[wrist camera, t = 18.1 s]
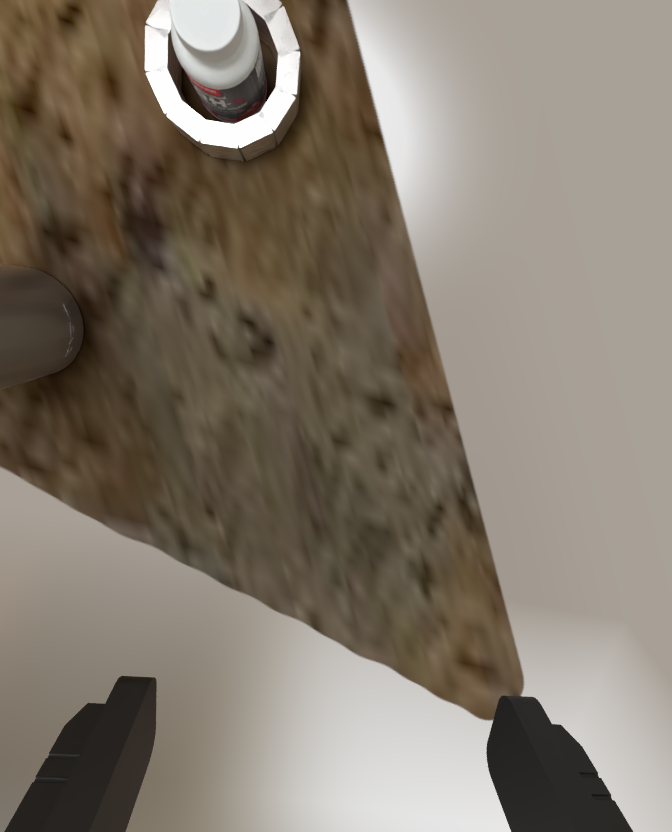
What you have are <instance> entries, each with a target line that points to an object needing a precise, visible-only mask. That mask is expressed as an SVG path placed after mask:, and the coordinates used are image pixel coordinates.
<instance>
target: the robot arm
mask: <svg viewBox="0 0 672 832" xmlns="http://www.w3.org/2000/svg"><path fill="white" fill-rule="evenodd" d="M83 332H84V327H83V320H82V316H81V313H80V310H79V307H78V305H77V303H76V302H75V300H74V298H73V296H72V295H71V294H70V293H69V291H68V290H67V289H66V288H65V287H64V286H63V285H62V284H61V283H60V282H58V281H57V280H56V279H55V278H53V277H52V276H50V275H48V274H46V273H44V272H42V271H40V270H37V269H33V268H30V267H22V266H13V265H3V264H0V390H2V389H6V388H9V387H12V386H15V385H18V384H21V383H25V382H28V381H31V380H34V379H37V378H41V377H44V376H47V375H50V374H53V373H56V372H58V371H60V370H62V369H63V368H65V367H67V366H68V365H69V364H70V363H71V362H72V361H73V360H74V359H75V357H76V355H77V354H78V352H79V351H80V348H81V344H82V341H83ZM155 730H156V678H151V677H131V676H121V677H119V679H118V680H117V682H116V683H115V685H114V687H113V690H112V691H111V693H110V695H109V698H108V699H107V701H106V704H96V703H88V704H87V705H85V706H84V707H83V708H82V709H81V710H80V711H79V712H78V713H77V714H76V715H75V716H74V717H73V718H72V719H71V720H70V721H69V722H68V723H67V724H66V725H65V726H64V728H63V729H62V731H61V733H60V735H59V736H58V738H57V740H56V742H55V744H54V745H53V747H52V749H51V751H50V752H49V756H48V758H46V759H45V761H44V763H43V765H42V767H41V768H40V770H39V772H38V774H37V775H36V779H35V781H34V782H33V783H32V784H31V786H30V788H29V789H28V791H27V793H26V795H25V796H24V798H23V800H22V802H21V803H20V805H19V807H18V809H17V811H16V812H15V814H14V816H13V818H12V819H11V821H10V823H9V825H8V827H7V828H6V830H5V832H125V831H126V829H127V826H128V823H129V820H130V817H131V814H132V811H133V808H134V805H135V802H136V799H137V796H138V794H139V790H140V788H141V785H142V782H143V779H144V776H145V773H146V770H147V767H148V764H149V761H150V757H151V753H152V749H153V745H154V739H155ZM487 762H488V768H489V772H490V775H491V778H492V781H493V783H494V786H495V789H496V792H497V795H498V797H499V800H500V803H501V805H502V808H503V811H504V813H505V816H506V819H507V821H508V824H509V827H510V829H511V832H633V831H632V829H631V827H630V826H629V824H628V823H627V821H626V819H625V817H624V816H623V814H622V812H621V811H620V809H619V807H618V806H617V804H616V802H615V801H613V800H612V799H611V794H610V792H609V791H608V789H607V787H606V786H605V784H604V782H603V781H602V779H601V778H599V777H598V772H597V771H596V769H595V767H594V766H593V764H592V762H591V761H590V759H589V757H588V756H587V754H586V752H585V751H584V749H583V747H582V746H581V745H580V744H579V743H578V742H577V741H576V740H575V739H574V738H573V737H572V736H571V735H570V734H569V733H568V732H567V731H566V730H565V729H564V728H563V727H562V726H561V725H555V724H551V722H550V720H549V718H548V717H547V715H546V713H545V711H544V709H543V708H542V706H541V704H540V703H539V702H538V700H537V699H536V698H534V697H522V696H501V697H500V699H499V701H498V705H497V709H496V712H495V716H494V720H493V724H492V728H491V731H490V735H489V738H488V742H487Z"/></svg>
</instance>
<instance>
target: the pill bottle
mask: <svg viewBox="0 0 672 832" xmlns="http://www.w3.org/2000/svg"><path fill="white" fill-rule="evenodd" d="M169 10H170V16H171V20H172V23H171V37H172V43H173V47H174V50H175V53H176V56H177V58H178V60H179V62H180V64H181V66H182V68H183V69H184V71H185V73H186V75H187V76H188V78H189V80H190V82H191V83H192V85H193V87H194V89H195V91H196V92H197V94H198V96H199V98H200V100H201V101H202V103H203V105H204V106H205V107H206V109H207V110H208V111H209V112H210V113H211V114H212V115H213V116H214V117H216V118H217V119H219V120H221V121H223V122H226V123H230V124H236V123H238V122H240V121H242V120H244V119H246V118H249V117H251V116H253V115H255V114H257V113H259V111H260V110H261V109H262V107H263V105H264V102H265V99H266V95H267V78H266V72H265V66H264V61H263V56H262V51H261V46H260V41H259V34H258V29H257V26H256V23H255V20H254V17H253V15H252V13H251V11H250V9H249V8H248V6H247V5H246V3H245V2H244V1H243V0H169Z"/></svg>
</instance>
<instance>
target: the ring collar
mask: <svg viewBox="0 0 672 832" xmlns="http://www.w3.org/2000/svg"><path fill="white" fill-rule="evenodd" d="M243 1H244V2H245V3H246V5H247V6H248V8H249V9H250V11H251V13H252V15H253V17H254V20H255V23H256V26H257V29H258V34H259V39H260V40H262V41H263V42H264V43H265V44H266V45H267V46H268V47H270V49H271V52H272V54H273V57H274V59H275V62H276V64H277V77H276V87H275V89H274V90H273V92H272V93H271V95H270V97H269V98H268V100H267V101H266V103H265V105H264V106H263V108H262V109H261V111H260V112H259V113H257V114H255V115H253V116H251V117H249V118H246V119H244V120H242V121H240V122H238V123H236V124H229V123H223V122H216V121H210V120H205V119H204V118H203V117H202V116H200V115H199V114H198V113H197V112H196V111H194V110H193V109H192V108H191V107H189V106H188V105H187V102H186V100H185V98H184V96H183V93H182V91H181V85H182V66H181V64H180V62H179V60H178V58H177V56H176V53H175V50H174V47H173V43H172V37H171V23H172V20H171V16H170V10H169V0H158V2H157V3H156V5H155V7H154V9H153V11H152V12H151V14H150V16H149V18H148V20H147V21H146V23H147V25H148V26H145V71H146V72H147V73H146V75H147V77H148V80H149V82H150V84H151V86H152V88H153V90H154V92H155V95H156V97H157V99H158V101H159V103H160V105H161V107H162V110H163V112H164V114H165V115H166V116H167V118H168V119H169V120H170V121H171V122H172V124H173V125H174V126H175V127H176V129H177V130H178V131H179V132H180V133H181V134H182V135H183V136H184V137H186V138H187V139H188V140H189V141H191V142H192V143H193V144H194V145H196V146H197V147H198V148H199V149H201V150H202V151H203V152H204V153H206V154H207V155H208V156H209V155H210V156H211V157H215V158H221V159H228V160H235V161H242V162H244V157H245V159H246V161H249V160H251V159H253V158H255V157H257V156H259V155H261V154H264V153H266V152H268V151H270V150H272V149H274V148H276V145H279V144H280V142H281V141H282V139H283V137H284V136H285V134H286V133H287V131H288V130H289V128H290V127H291V125H292V124H293V122H294V120H295V119H296V117H297V114H298V107H299V96H300V84H301V59H300V48H299V45H298V42H297V40H296V37H295V35H294V32H293V29H292V27H291V24H290V21H289V19H288V16H287V13H286V11H285V8H284V6H283V7H282V3H281V2H280V1H279V0H243ZM275 144H276V145H275Z"/></svg>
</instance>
